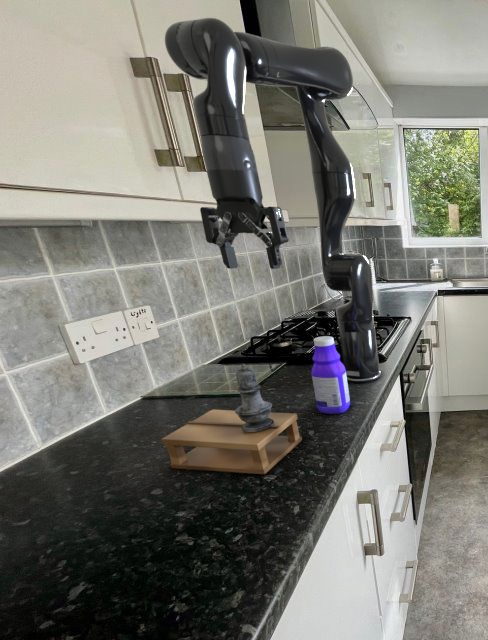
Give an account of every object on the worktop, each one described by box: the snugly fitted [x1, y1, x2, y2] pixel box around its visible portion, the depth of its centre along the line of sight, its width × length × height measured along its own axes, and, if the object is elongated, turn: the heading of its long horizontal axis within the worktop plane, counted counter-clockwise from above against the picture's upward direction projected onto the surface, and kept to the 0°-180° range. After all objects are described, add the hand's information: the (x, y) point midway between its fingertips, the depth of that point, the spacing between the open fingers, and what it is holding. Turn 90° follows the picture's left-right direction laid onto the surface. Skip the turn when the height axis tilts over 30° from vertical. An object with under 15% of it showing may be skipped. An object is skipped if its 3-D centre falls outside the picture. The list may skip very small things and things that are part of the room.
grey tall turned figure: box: [234, 363, 274, 432], centre depth 73 cm, size 6×6×12 cm
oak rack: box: [160, 409, 303, 475], centre depth 77 cm, size 12×18×6 cm, turn 84°
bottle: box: [310, 335, 351, 415], centre depth 92 cm, size 7×6×17 cm
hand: (253, 268), depth 75 cm, fingers open, 8 cm apart
